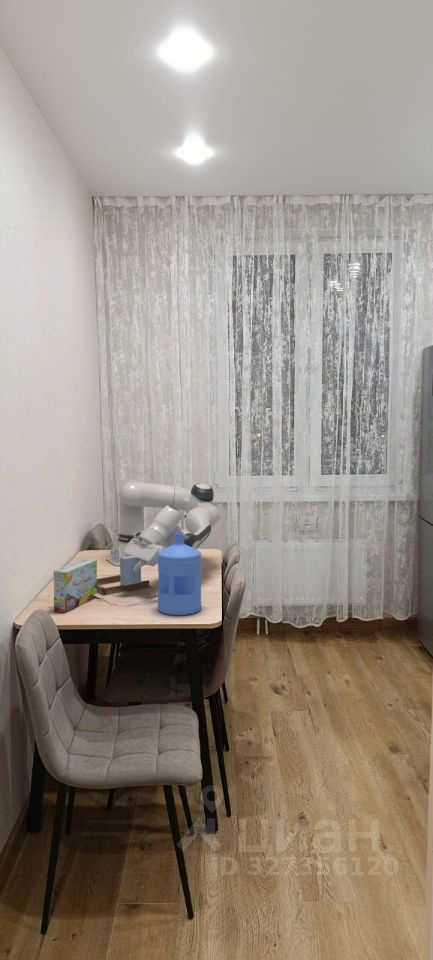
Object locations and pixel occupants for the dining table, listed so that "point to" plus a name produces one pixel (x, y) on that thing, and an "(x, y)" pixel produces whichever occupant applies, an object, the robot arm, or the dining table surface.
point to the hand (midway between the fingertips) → (130, 569)
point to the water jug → (179, 578)
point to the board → (129, 570)
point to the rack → (118, 588)
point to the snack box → (75, 585)
